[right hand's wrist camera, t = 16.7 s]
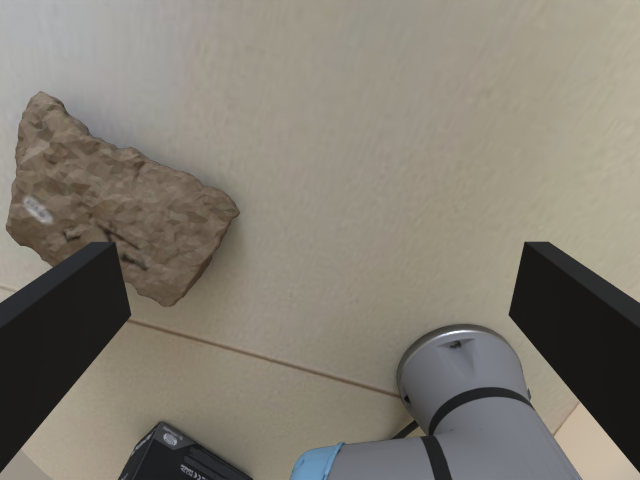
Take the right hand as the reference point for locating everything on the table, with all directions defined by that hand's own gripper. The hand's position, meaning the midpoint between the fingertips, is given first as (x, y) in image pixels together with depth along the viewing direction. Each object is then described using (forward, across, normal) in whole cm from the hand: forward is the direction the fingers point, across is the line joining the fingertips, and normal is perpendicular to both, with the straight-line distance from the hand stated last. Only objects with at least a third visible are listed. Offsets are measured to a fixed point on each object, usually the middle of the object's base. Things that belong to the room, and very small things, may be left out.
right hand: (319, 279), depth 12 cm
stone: (+28, +20, +6) cm, 35 cm away
